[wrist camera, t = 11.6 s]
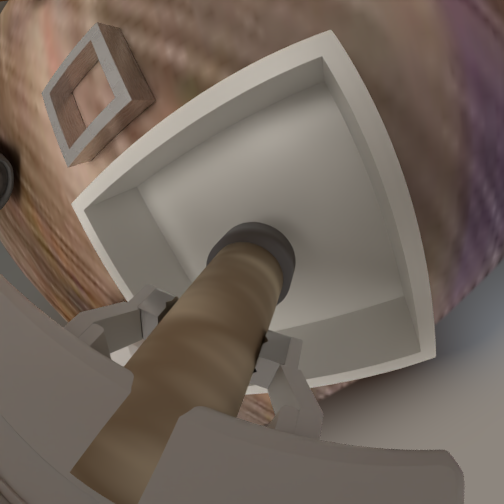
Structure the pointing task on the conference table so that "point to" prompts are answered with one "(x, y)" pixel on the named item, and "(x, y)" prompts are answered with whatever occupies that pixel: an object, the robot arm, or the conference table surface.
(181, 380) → the birch strut
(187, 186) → the grey bin
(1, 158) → the bluetooth speaker
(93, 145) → the steel collar
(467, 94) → the conference table surface
